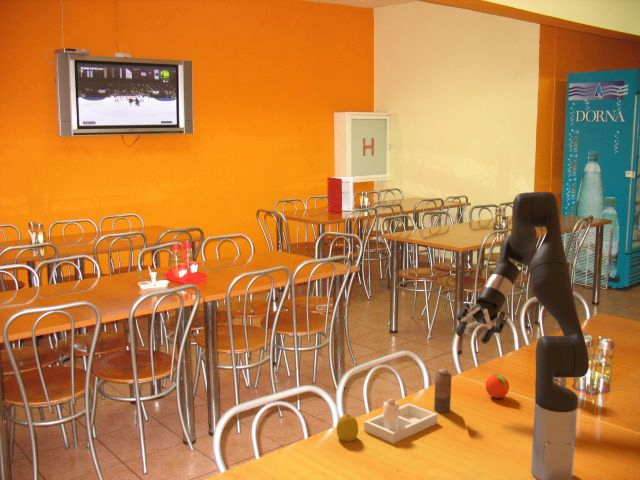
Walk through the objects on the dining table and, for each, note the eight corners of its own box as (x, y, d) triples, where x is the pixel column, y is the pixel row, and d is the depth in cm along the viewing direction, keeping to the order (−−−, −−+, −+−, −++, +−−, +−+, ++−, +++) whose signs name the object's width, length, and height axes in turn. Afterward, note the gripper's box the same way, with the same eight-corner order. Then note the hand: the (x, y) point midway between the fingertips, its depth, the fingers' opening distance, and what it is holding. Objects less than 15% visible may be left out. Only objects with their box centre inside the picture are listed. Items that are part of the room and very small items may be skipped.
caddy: (408, 416, 192) (408, 403, 191) (437, 428, 185) (437, 414, 184) (363, 435, 180) (364, 421, 179) (392, 448, 173) (393, 433, 172)
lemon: (356, 449, 172) (356, 419, 171) (334, 447, 173) (334, 417, 172) (359, 439, 177) (360, 410, 176) (338, 438, 179) (338, 408, 177)
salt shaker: (398, 434, 177) (399, 402, 176) (382, 434, 177) (383, 401, 176) (397, 428, 181) (398, 396, 180) (382, 427, 181) (383, 395, 180)
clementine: (515, 401, 203) (516, 378, 202) (496, 404, 201) (497, 381, 200) (499, 391, 211) (500, 369, 210) (480, 394, 208) (481, 372, 207)
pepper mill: (450, 418, 191) (452, 373, 189) (434, 418, 191) (436, 372, 189) (448, 412, 195) (450, 367, 193) (433, 411, 196) (434, 367, 193)
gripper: (469, 281, 206) (445, 326, 200) (511, 290, 196) (486, 337, 190) (479, 295, 211) (455, 339, 205) (520, 305, 200) (496, 351, 195)
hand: (470, 338), depth 198 cm, fingers open, 8 cm apart
